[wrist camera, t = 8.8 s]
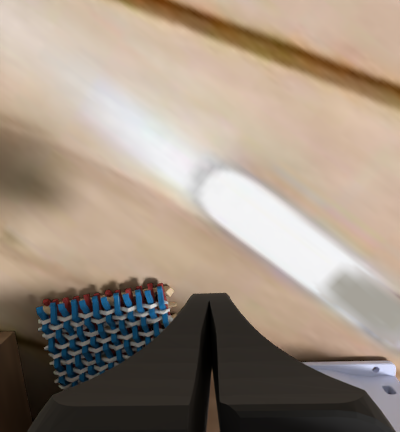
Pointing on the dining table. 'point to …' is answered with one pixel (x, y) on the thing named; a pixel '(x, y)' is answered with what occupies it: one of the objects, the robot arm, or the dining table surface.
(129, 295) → the woven mat
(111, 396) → the robot arm
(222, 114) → the dining table surface
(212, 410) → the walnut open box
